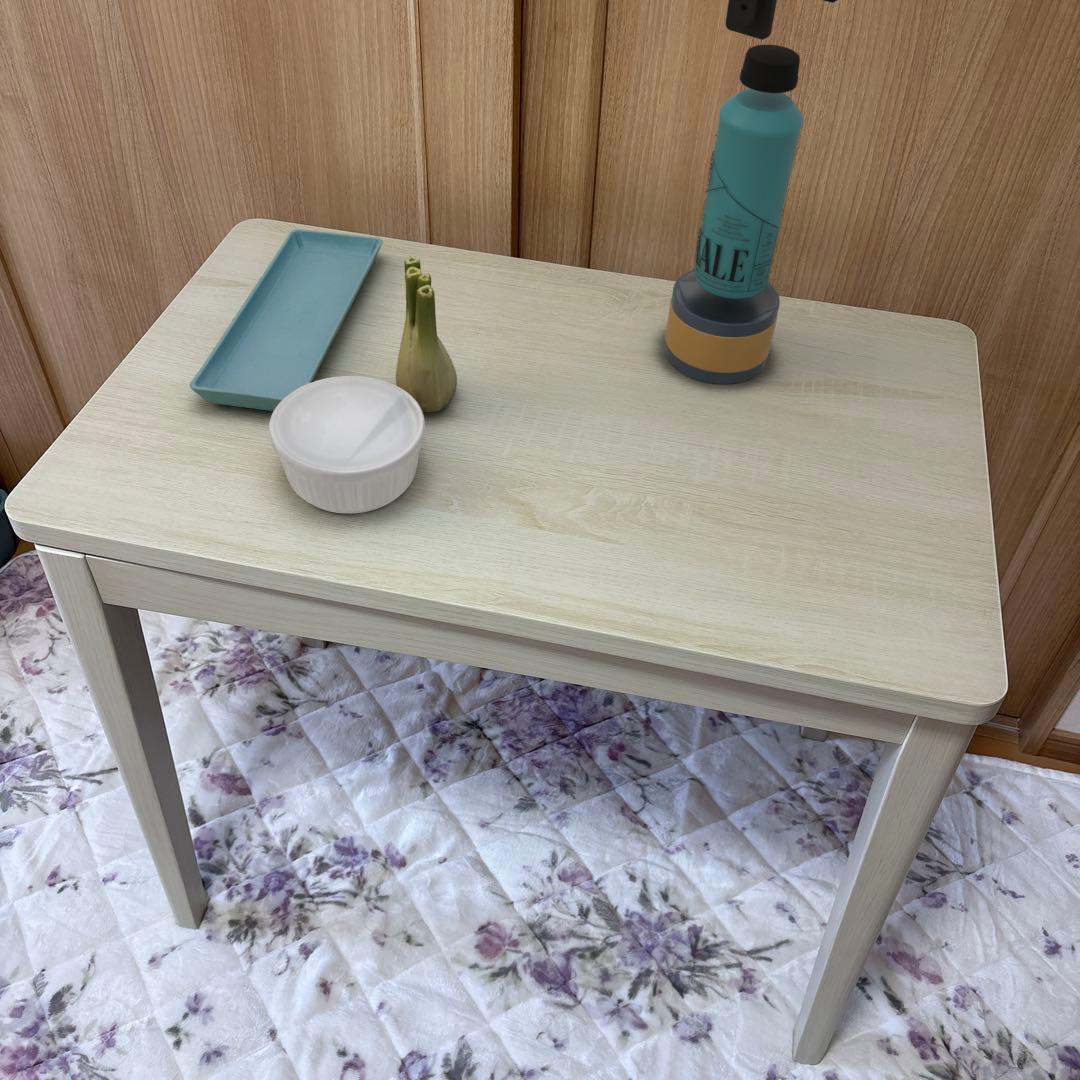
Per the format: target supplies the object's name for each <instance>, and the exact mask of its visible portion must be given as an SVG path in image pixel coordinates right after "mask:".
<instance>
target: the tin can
mask: <svg viewBox="0 0 1080 1080" xmlns="http://www.w3.org/2000/svg"><path fill="white" fill-rule="evenodd" d="M694 272H695V269H694V270H693V269H692V270H690V271H687V272H685V273H683V274H682V275H680V277H678V278H677V279H676V281H675V282H674V284H673V287H672V292H671V293H672V295H671V299H670V302H669V309H668V310H669V311H668V317H667V322H666V329H665V341H664V354H665V357H666V359H667V361H668V362H669V363H670V365H671V366H672V367H673V368H674V369H676V371H678V372H679V373H681V374H683V375H685V376H687V377H689V378H691V379H693V380H696V381H700V382H704V383H709V384H713V385H714V384H715V385H731V384H733V385H734V384H739V383H743V382H746V381H749V380H751V379H753V378H755V377H757V376H758V375H759V374H760V373H761V372H762V371H763V370H764V369H765V367H766V365H767V364H766V363H767V360H768V356H769V353H770V350H771V347H772V341H773V337H774V333H775V330H776V324H777V320H778V313H779V309H780V305H781V304H780V303H781V300H780V296H779V293H778V291H777V290H776V288H775V287H774V286H773V285H772V284H771V283H770V282H769V281H768V283H767V285H766V286H765V288H764V290H763V291H762V292H760V293H759V294H757V295H755V296H752V297H748V298H740V299H735V298H726V297H721V296H718V295H715V294H712V293H710V292H708V291H706V290H705V289H704V288H702V287H701V286H700V285H699V284H698V282H697V280H696V277H695V273H694Z"/></svg>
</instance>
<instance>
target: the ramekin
mask: <svg viewBox="0 0 1080 1080" xmlns="http://www.w3.org/2000/svg"><path fill="white" fill-rule="evenodd" d="M268 429H269V430H268V431H269V432H268V433H269V440H270V443H271V446H272V449H273V451H274V452H275V454H276V456H277V457H278V458H279V460H280V463H281V466H282V468H283V471H284V474H285V476H286V478H287V481H288V483H289V484H290V486H291V488H292V489H293V491H294V492H295V494H297V495H298V496H299V497H300V499H302V500H303V501H305V502H306V503H308V504H310V505H312V506H314V507H316V508H318V509H321V510H323V511H326V512H331V513H336V514H361V513H368V512H372V511H374V510H377V509H381V508H382V507H386V506H387V505H389V504H391V503H392V502H394V501H395V500H397V498H399V497H400V496H402V494H403V493H404V492H406V491H407V489H408V488H409V487H410V486H411V484H412V482H413V480H414V478H415V475H416V473H417V468H418V462H419V457H420V451H421V448H422V445H423V443H424V440H425V434H426V420H425V415H424V411H422V410H421V408H420V406H419V404H418V403H417V401H416V400H415V399H414V398H413V397H412V396H411V395H410V394H409V393H407V392H406V391H405V390H403V389H401V388H400V387H398V386H397V385H396V384H394V383H392V382H389V381H386V380H383V379H379V378H375V377H371V376H363V375H341V376H340V375H339V376H331V377H326V378H322V379H319V380H315V381H312V383H309V384H306V385H304V386H301V387H300V388H298V389H296V390H295V391H293V392H292V393H290V394H289V395H288V396H286V397H285V398H284V399H283V400H282V401H281V402H280V403H279V404H278V405H277V407H276V408H275V410H274V411H272V414H271V416H270V420H269V424H268Z"/></svg>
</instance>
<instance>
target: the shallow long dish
mask: <svg viewBox="0 0 1080 1080" xmlns="http://www.w3.org/2000/svg"><path fill="white" fill-rule="evenodd" d="M383 243H384V241H383V239H382V238H380V237H375V236H374V237H373V236H365V235H355V234H346V233H337V232H329V231H328V232H327V231H319V230H308V229H302V228H300V229H299V228H297V229H296V228H295V229H292V230H291V231H290V232H289V233H288V235H287V236H286V238H285V240H284V242H282V244H281V246H280V248H278V250H277V251H276V254H275V255H274V257H273V259H272V260H271V262H270V263H269V265H268V266H267V268H266V269H265V271H264V272H263V274H262V275H261V277H260V278H259V280H258V281H257V283H256V284H255V286H254V287H253V289H252V290H251V292H250V293H249V295H248V296H247V298H246V299H245V301H244V302H243V303H242V305H241V307H240V308H239V310H238V311H237V313H236V314H235V316H234V317H233V319H232V320H231V322H230V324H229V325H228V327H226V330H225V331H224V333H223V334H222V336H221V337H220V339H219V341H218V342H216V344H215V346H214V348H213V349H212V351H211V352H210V354H209V355H208V357H207V358H206V360H205V361H204V363H203V364H202V365H201V367H200V369H199V370H198V371H197V373H196V374H195V376H194V377H193V379H192V380H191V381H190V382H189V387H190V389H191V391H193V392H194V393H195V394H197V395H198V396H199V397H201V398H202V399H204V400H205V401H206V402H207V403H210V404H215V405H221V406H222V405H224V406H233V407H237V408H238V407H239V408H246V409H255V410H262V411H270V412H274V410H275V408H276V407H277V405H278V404H279V403H280V402H281V401H282V400H283V399H284V398H285V397H286V396H288V395H289V394H290V393H292V392H293V391H295V390H296V389H298V388H300V387H301V386H304V385H306V384H309V383H312V382H314V379H315V377H316V375H317V373H318V372H319V370H320V367H321V366H322V364H323V362H324V360H325V358H326V356H327V354H328V352H329V351H330V349H331V346H332V344H333V342H334V341H335V338H336V336H337V335H338V333H339V331H340V329H341V327H342V325H343V323H344V321H345V319H346V318H347V315H348V313H349V311H350V309H351V308H352V305H353V303H354V302H355V300H356V298H357V295H358V294H359V292H360V290H361V288H362V286H363V284H364V282H365V280H366V278H367V277H368V274H369V272H370V271H371V269H372V267H373V265H374V263H375V261H376V259H377V257H378V254H379V252H380V250H381V247H382V245H383Z"/></svg>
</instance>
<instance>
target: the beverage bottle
mask: <svg viewBox="0 0 1080 1080" xmlns="http://www.w3.org/2000/svg"><path fill="white" fill-rule="evenodd" d="M800 64H801V58H800V55H799V53H797V52H796V51H795V50H793V49H791V48H788V47H786V46H784V45H783V46H782V45H778V44H757V45H754V46H751V47H749V48H748V49H747V50H746V53H745V55H744V59H743V63H742V68H741V69H740V74H739V81H740V83H741V84H742V85H743V86H744V87H746V88H747V89H744V90H741V91H738V92H737V93H736V94H735V95H733V96H731V97H730V98H729V99H727V100H726V101H725V102H724V103H723V104H722V105H721V107H720V109H719V114H718V115H719V121H718V127H717V133H715V134H714V135H715V138H716V139H715V141H714V142H715V143H714V148H713V149H712V151H711V155H710V161H709V169H708V173H707V182H708V183H706V184H707V189H706V190H705V193H704V194H706V197H705V200H704V202H703V206H704V207H703V208H702V211H701V221H702V222H701V227H699V229H698V234H697V241H696V247H695V250H696V252H695V253H694V256H695V259H694V262H695V264H694V267H693V269H692V270H695V272H694V273H695V277H696V280H697V282H698V284H699V285H700V286H701V287H702V288H704V289H705V290H706V291H708V292H710V293H712V294H715V295H718V296H721V297H726V298H735V299H740V298H748V297H752V296H755V295H757V294H759V293H760V292H762V291H763V290H764V288H765V286H766V285H767V283H768V282H769V280H770V275H771V273H773V272H772V269H773V263H774V260H775V258H776V257H775V255H776V253H777V252H776V250H777V248H778V244H779V243H778V241H779V239H780V238H779V236H780V234H781V233H780V232H781V231H782V230H781V227H782V225H783V224H782V222H784V219H783V217H784V207H785V202H786V198H787V193H788V189H789V184H790V179H791V175H792V172H793V167H794V162H795V158H796V153H797V149H798V145H799V141H800V140H799V139H800V136H801V132H802V129H803V126H804V122H805V119H804V114H803V112H802V111H801V109H800V107H798V105H797V104H796V102H795V101H794V100H793V99H792V98H791V97H790V96H789V95H787V94H786V93H788V92H791V91H793V90H795V89H796V88H797V87H798V83H799V73H800Z"/></svg>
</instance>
